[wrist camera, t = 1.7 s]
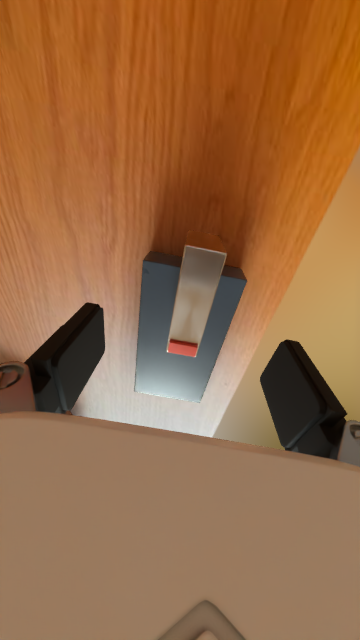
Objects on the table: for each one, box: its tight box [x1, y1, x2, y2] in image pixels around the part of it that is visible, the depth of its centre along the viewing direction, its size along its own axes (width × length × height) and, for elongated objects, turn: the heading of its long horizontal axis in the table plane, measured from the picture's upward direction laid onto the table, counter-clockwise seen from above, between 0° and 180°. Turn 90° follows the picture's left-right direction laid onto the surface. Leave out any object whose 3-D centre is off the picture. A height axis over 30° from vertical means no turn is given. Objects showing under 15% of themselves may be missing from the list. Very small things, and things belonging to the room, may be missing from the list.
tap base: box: [134, 251, 247, 403], centre depth 23 cm, size 18×9×3 cm, turn 170°
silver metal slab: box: [166, 230, 227, 357], centre depth 15 cm, size 8×2×5 cm, turn 170°
